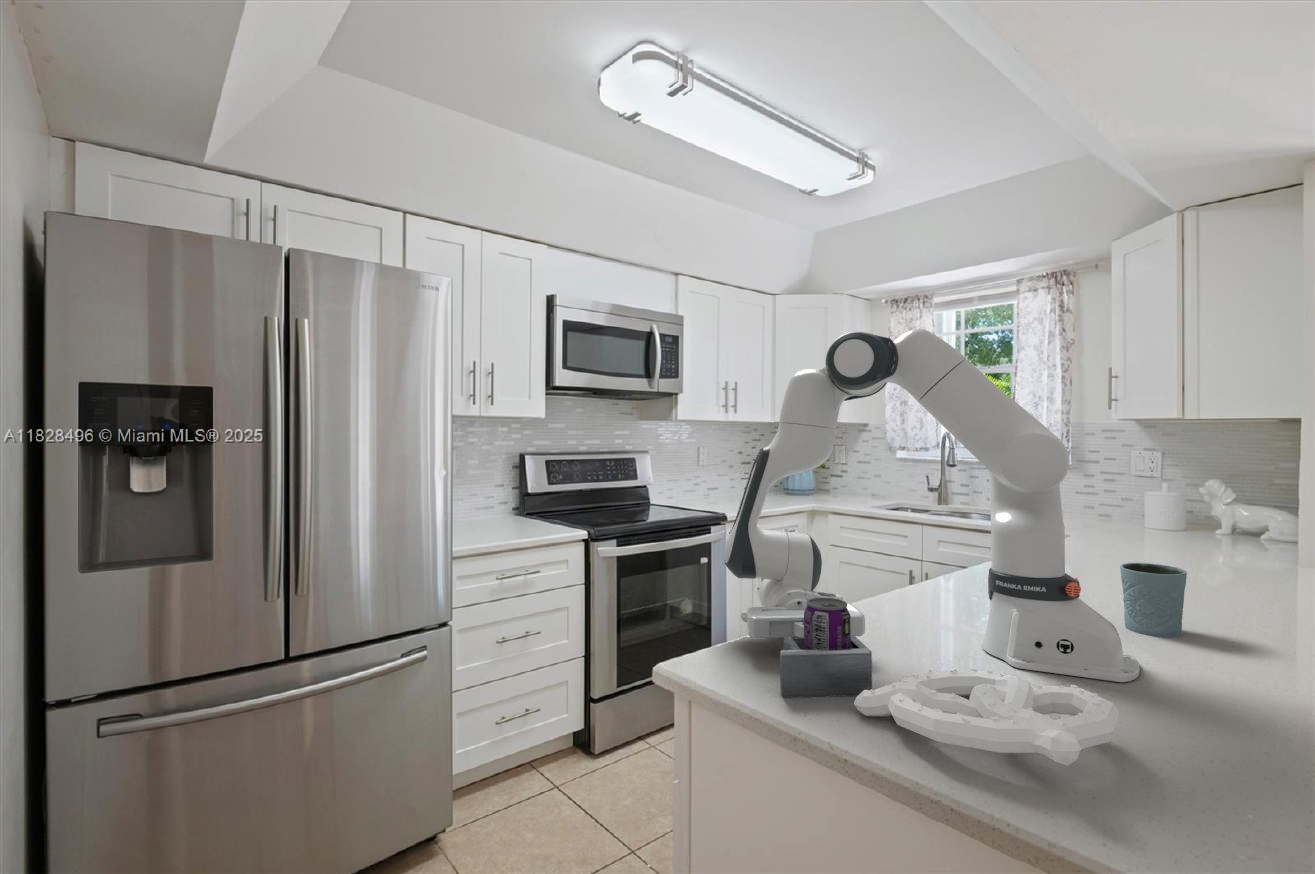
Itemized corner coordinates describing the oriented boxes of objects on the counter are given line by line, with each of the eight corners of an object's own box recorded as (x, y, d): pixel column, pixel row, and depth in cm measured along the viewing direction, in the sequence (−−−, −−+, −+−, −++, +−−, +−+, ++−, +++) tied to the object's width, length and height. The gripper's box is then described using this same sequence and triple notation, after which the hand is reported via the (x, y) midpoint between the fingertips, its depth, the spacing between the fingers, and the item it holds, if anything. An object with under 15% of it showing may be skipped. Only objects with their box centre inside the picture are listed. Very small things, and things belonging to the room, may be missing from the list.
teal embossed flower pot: (1163, 623, 126) (1162, 562, 126) (1201, 639, 116) (1201, 573, 116) (1108, 622, 127) (1108, 562, 127) (1142, 638, 117) (1141, 573, 117)
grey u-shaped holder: (769, 674, 101) (769, 633, 101) (854, 672, 102) (854, 631, 102) (782, 697, 93) (781, 652, 93) (875, 695, 93) (874, 650, 93)
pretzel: (839, 731, 85) (834, 681, 86) (940, 695, 98) (936, 652, 99) (1066, 801, 62) (1057, 732, 63) (1158, 741, 75) (1150, 685, 76)
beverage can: (860, 684, 97) (859, 606, 97) (818, 690, 95) (817, 610, 95) (835, 668, 104) (835, 595, 104) (796, 673, 102) (795, 598, 102)
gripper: (738, 596, 116) (752, 617, 103) (848, 594, 117) (877, 615, 103) (739, 630, 116) (752, 656, 103) (849, 628, 117) (877, 654, 103)
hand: (816, 636), depth 103 cm, fingers closed
